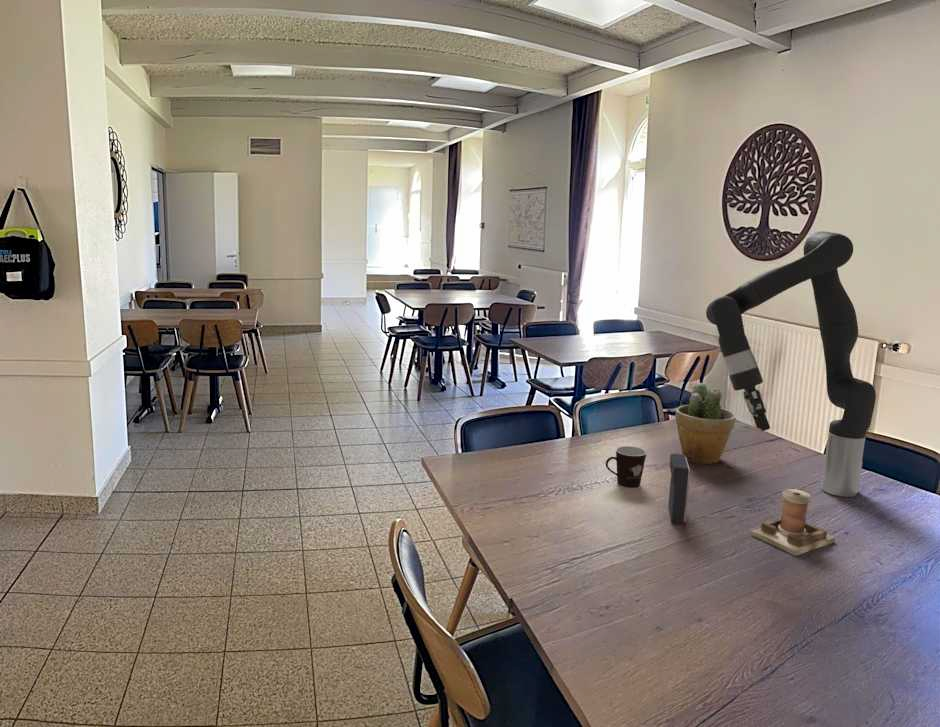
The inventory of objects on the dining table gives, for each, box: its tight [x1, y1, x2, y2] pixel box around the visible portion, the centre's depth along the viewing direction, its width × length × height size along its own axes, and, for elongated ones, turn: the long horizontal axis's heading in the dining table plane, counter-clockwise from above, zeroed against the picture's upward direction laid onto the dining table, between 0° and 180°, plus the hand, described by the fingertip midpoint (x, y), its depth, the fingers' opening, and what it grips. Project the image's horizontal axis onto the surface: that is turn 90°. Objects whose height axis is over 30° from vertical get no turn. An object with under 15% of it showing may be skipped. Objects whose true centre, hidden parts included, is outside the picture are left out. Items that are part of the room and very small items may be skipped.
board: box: [751, 516, 836, 557], centre depth 169 cm, size 15×12×3 cm
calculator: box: [667, 453, 691, 525], centre depth 179 cm, size 11×4×15 cm, turn 168°
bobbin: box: [778, 488, 811, 537], centre depth 168 cm, size 6×6×10 cm
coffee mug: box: [605, 445, 647, 489], centre depth 200 cm, size 12×9×10 cm
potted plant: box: [674, 382, 737, 465], centre depth 222 cm, size 18×19×25 cm
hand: (763, 428), depth 181 cm, fingers open, 8 cm apart
